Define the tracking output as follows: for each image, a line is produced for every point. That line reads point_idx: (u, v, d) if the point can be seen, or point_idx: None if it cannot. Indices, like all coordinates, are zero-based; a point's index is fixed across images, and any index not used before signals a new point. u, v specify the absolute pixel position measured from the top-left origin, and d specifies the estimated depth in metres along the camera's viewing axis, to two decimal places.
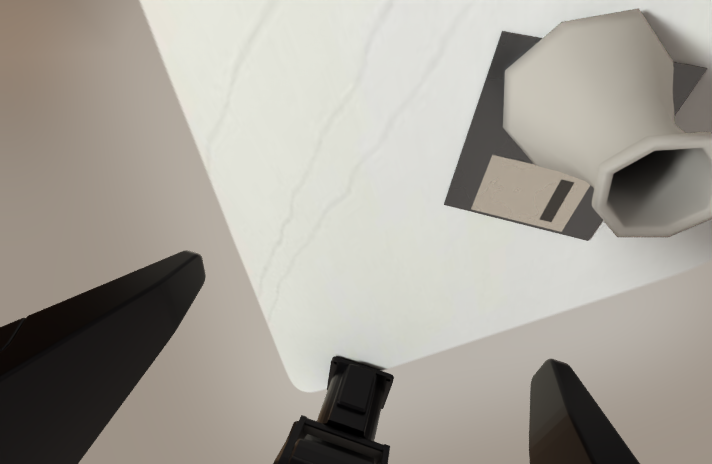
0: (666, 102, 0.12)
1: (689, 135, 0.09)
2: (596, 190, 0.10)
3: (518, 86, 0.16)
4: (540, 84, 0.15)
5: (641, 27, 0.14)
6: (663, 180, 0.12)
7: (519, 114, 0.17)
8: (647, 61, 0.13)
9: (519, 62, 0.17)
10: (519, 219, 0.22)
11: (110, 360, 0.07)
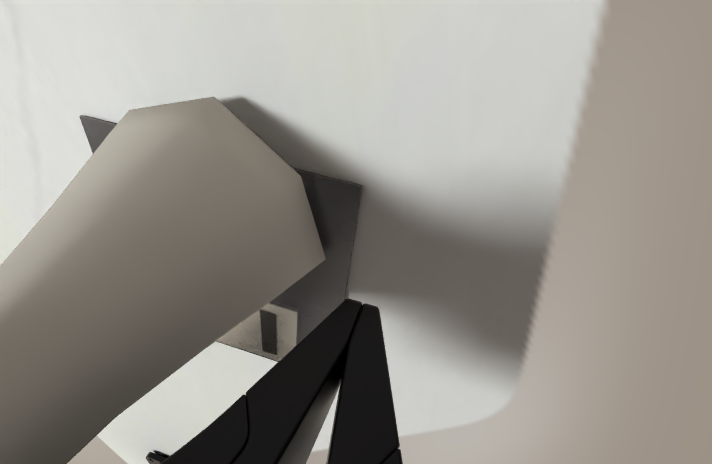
0: (85, 322, 0.06)
1: None
2: None
3: None
4: None
5: (173, 139, 0.08)
6: None
7: None
8: (96, 226, 0.07)
9: None
10: (241, 347, 0.16)
11: (310, 431, 0.07)
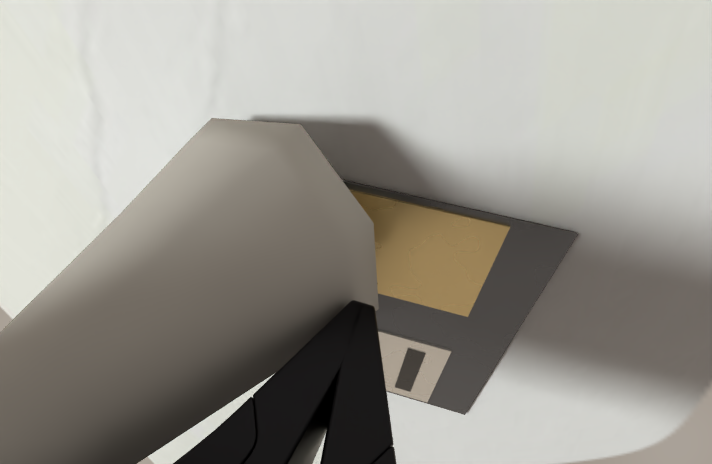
0: (125, 363, 0.06)
1: None
2: None
3: None
4: None
5: (251, 168, 0.07)
6: None
7: None
8: (156, 256, 0.06)
9: None
10: None
11: (316, 433, 0.07)
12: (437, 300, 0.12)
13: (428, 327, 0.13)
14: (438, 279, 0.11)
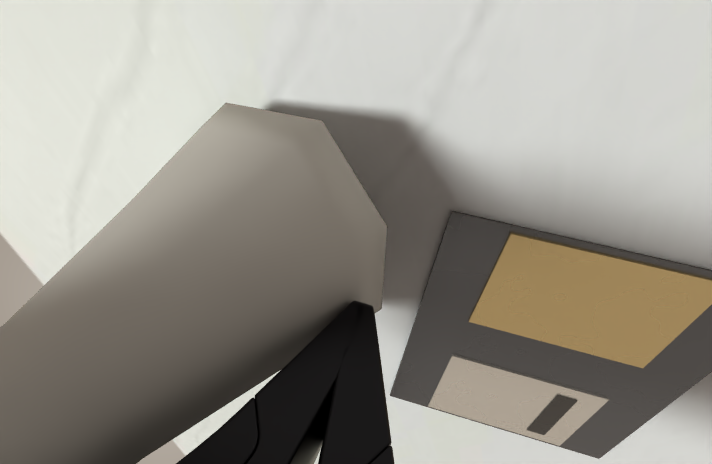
0: (137, 363, 0.06)
1: None
2: None
3: None
4: None
5: (270, 164, 0.07)
6: None
7: None
8: (171, 253, 0.06)
9: None
10: (497, 425, 0.15)
11: (318, 434, 0.07)
12: (612, 351, 0.11)
13: (589, 376, 0.12)
14: (620, 331, 0.11)
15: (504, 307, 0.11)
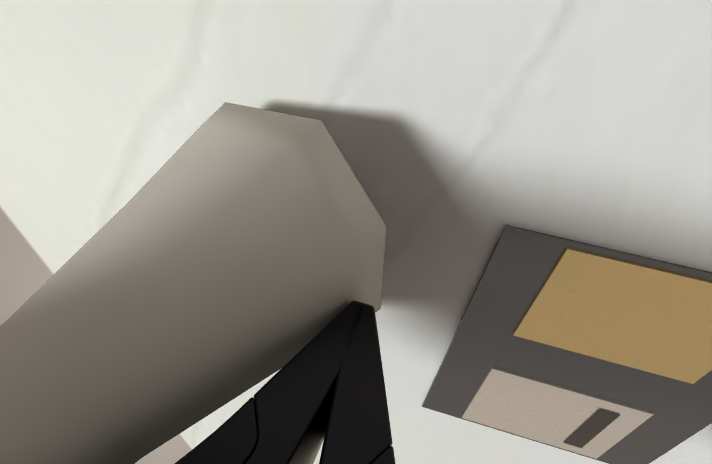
0: (136, 362, 0.06)
1: None
2: None
3: None
4: None
5: (270, 164, 0.07)
6: None
7: None
8: (170, 253, 0.06)
9: None
10: (533, 437, 0.15)
11: (317, 434, 0.07)
12: (662, 366, 0.11)
13: (635, 390, 0.12)
14: (673, 346, 0.11)
15: (552, 321, 0.11)
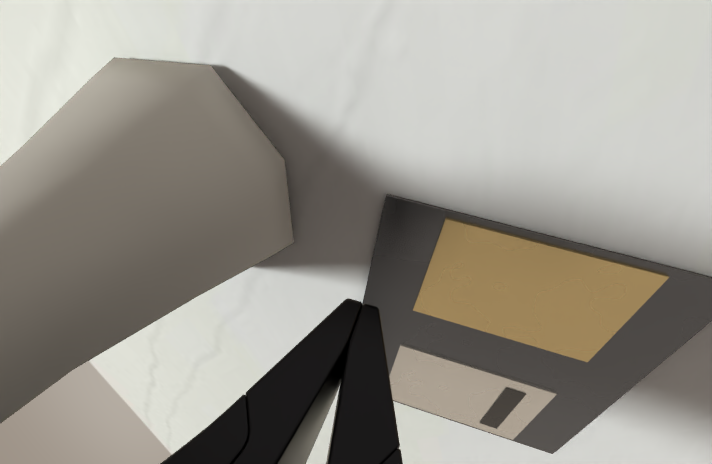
0: (53, 275, 0.06)
1: None
2: None
3: None
4: None
5: (164, 102, 0.08)
6: None
7: None
8: (74, 179, 0.07)
9: None
10: (451, 417, 0.15)
11: (310, 431, 0.07)
12: (556, 343, 0.11)
13: (536, 369, 0.12)
14: (563, 323, 0.11)
15: (446, 296, 0.11)
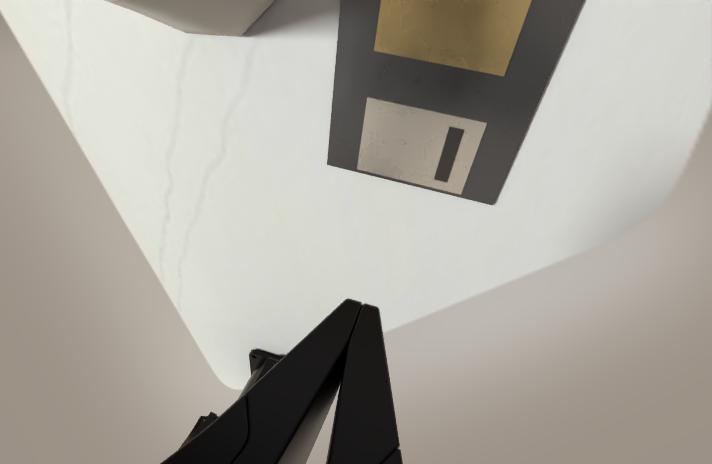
0: None
1: None
2: None
3: None
4: None
5: None
6: None
7: None
8: None
9: None
10: (412, 180, 0.18)
11: (310, 431, 0.07)
12: (479, 60, 0.15)
13: (469, 98, 0.15)
14: (482, 36, 0.14)
15: (397, 28, 0.15)
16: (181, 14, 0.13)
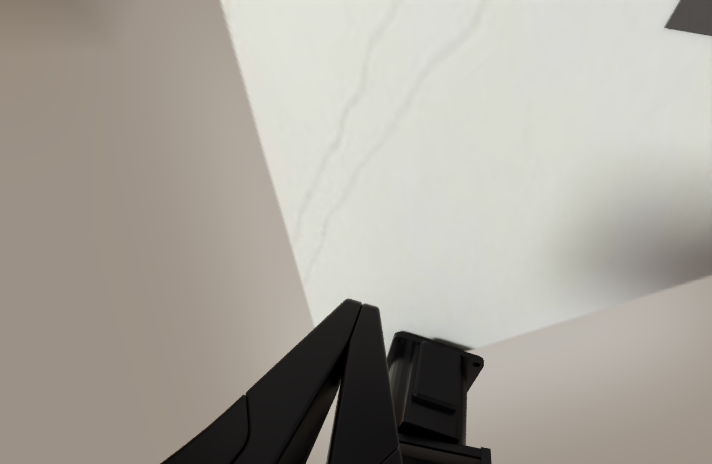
0: None
1: None
2: None
3: None
4: None
5: None
6: None
7: None
8: None
9: None
10: None
11: (310, 431, 0.07)
12: None
13: None
14: None
15: None
16: None
